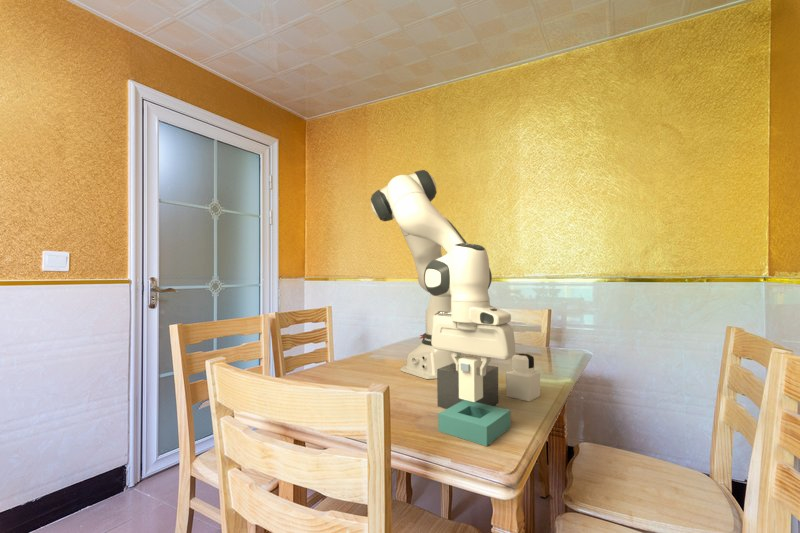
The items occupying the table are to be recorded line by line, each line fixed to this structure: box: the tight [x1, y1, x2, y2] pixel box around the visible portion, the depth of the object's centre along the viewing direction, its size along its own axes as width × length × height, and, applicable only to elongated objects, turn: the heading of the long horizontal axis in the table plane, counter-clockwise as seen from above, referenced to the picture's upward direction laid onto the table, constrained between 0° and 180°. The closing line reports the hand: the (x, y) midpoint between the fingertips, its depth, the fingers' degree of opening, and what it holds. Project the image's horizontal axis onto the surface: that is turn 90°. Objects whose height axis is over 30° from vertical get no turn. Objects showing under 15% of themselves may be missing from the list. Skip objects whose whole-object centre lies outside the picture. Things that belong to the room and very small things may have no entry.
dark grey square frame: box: [436, 363, 500, 410], centre depth 103 cm, size 12×12×10 cm
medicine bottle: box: [505, 353, 541, 402], centre depth 109 cm, size 7×7×12 cm
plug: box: [459, 355, 483, 402], centre depth 87 cm, size 4×5×9 cm
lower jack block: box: [437, 400, 511, 447], centre depth 87 cm, size 12×12×4 cm
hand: (470, 373), depth 87 cm, fingers closed on plug, 4 cm apart
